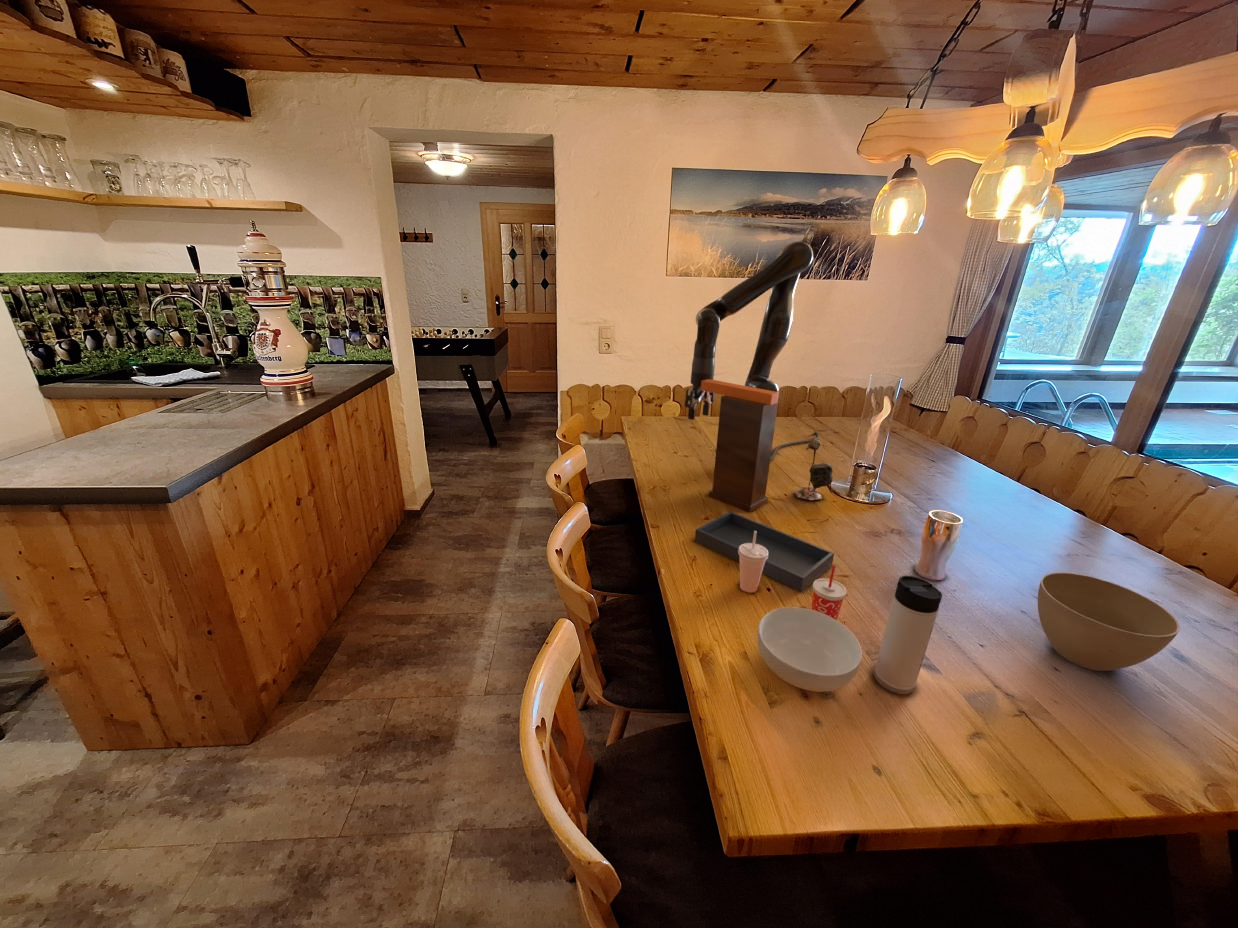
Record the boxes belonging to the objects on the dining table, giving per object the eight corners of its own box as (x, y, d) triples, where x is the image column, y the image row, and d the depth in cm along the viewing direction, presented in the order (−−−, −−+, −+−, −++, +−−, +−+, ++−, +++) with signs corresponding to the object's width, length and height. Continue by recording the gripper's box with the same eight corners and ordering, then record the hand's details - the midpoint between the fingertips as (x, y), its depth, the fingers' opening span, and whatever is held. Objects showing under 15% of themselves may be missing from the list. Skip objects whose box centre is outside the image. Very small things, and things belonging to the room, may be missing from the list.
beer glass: (942, 568, 118) (959, 512, 112) (950, 584, 112) (968, 526, 106) (910, 562, 120) (924, 507, 115) (915, 578, 114) (931, 520, 108)
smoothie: (760, 580, 112) (768, 526, 107) (765, 597, 106) (774, 541, 101) (732, 578, 113) (738, 524, 108) (735, 595, 107) (742, 539, 102)
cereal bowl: (736, 669, 87) (740, 637, 84) (779, 624, 98) (784, 594, 95) (832, 726, 76) (841, 691, 73) (868, 668, 87) (876, 636, 85)
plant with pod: (829, 505, 149) (841, 443, 142) (791, 498, 154) (801, 437, 147) (832, 495, 156) (843, 436, 149) (795, 488, 161) (804, 430, 153)
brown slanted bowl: (1117, 706, 80) (1147, 648, 76) (1000, 636, 96) (1019, 584, 91) (1170, 674, 87) (1201, 619, 83) (1053, 613, 102) (1074, 564, 98)
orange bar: (708, 388, 153) (709, 379, 152) (777, 402, 137) (779, 392, 136) (700, 390, 151) (701, 380, 149) (770, 405, 134) (771, 394, 133)
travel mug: (864, 668, 87) (888, 573, 80) (899, 666, 88) (926, 571, 81) (885, 696, 81) (913, 596, 74) (922, 693, 82) (953, 594, 75)
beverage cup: (799, 623, 98) (810, 563, 93) (815, 611, 102) (827, 553, 97) (828, 639, 94) (841, 578, 89) (844, 626, 98) (857, 566, 93)
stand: (726, 487, 161) (736, 391, 149) (767, 502, 151) (781, 400, 139) (708, 495, 155) (717, 396, 143) (749, 511, 144) (763, 406, 133)
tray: (729, 522, 138) (730, 511, 137) (831, 565, 118) (834, 552, 117) (694, 541, 128) (695, 529, 127) (800, 591, 108) (803, 578, 107)
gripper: (699, 374, 156) (695, 423, 162) (724, 369, 166) (719, 415, 172) (681, 371, 161) (677, 418, 167) (705, 366, 171) (701, 411, 177)
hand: (698, 417), depth 170 cm, fingers open, 8 cm apart
